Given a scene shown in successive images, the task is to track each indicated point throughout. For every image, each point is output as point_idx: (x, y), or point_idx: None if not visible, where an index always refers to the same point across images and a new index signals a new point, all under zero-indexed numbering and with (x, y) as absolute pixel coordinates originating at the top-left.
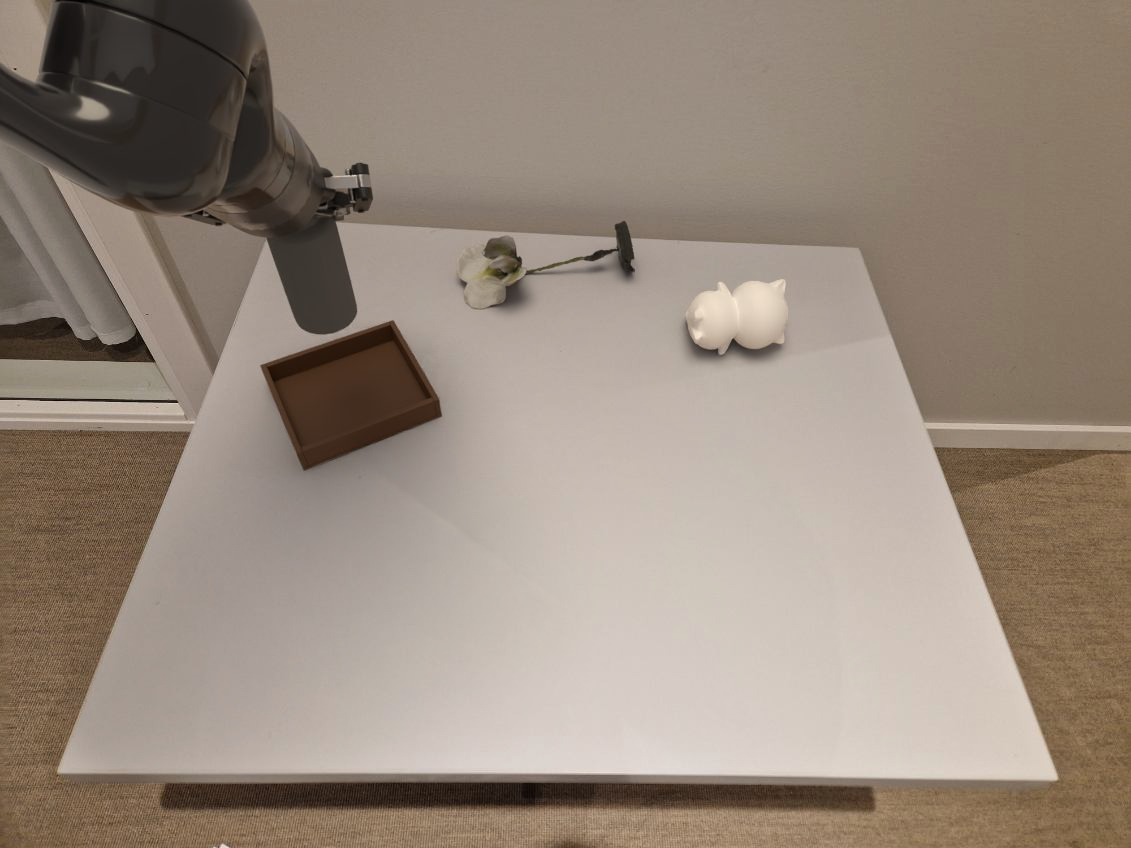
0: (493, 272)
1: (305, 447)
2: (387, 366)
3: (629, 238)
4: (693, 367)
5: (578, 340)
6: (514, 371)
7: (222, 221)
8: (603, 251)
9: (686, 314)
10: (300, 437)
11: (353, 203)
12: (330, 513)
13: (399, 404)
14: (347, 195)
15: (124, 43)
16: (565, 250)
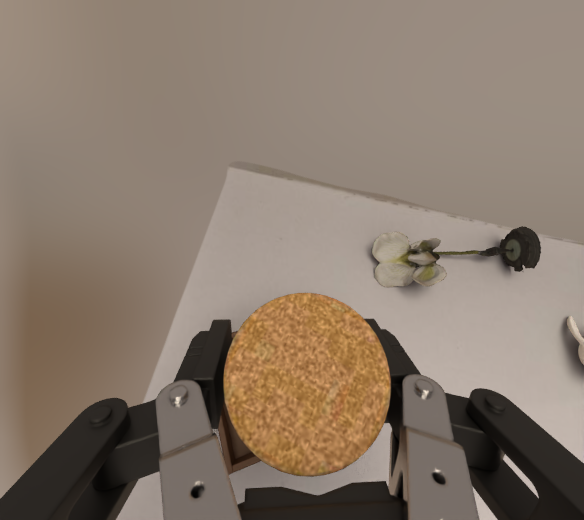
0: (406, 260)
1: (236, 466)
2: None
3: (538, 251)
4: (576, 387)
5: (472, 337)
6: (419, 366)
7: (124, 503)
8: (498, 249)
9: (577, 334)
10: (230, 425)
11: (497, 505)
12: None
13: None
14: (464, 447)
15: None
16: (453, 233)
